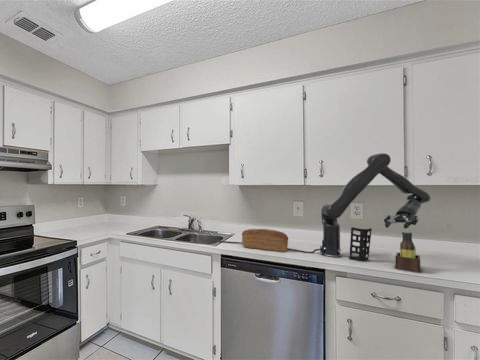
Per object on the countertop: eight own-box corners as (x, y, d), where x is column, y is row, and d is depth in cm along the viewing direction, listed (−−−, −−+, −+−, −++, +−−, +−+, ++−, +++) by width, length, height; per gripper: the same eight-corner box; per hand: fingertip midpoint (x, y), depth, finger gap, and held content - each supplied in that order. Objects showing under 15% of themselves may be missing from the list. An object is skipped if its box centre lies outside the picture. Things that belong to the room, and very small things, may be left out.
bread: (243, 244, 200) (243, 226, 200) (288, 249, 185) (288, 230, 185) (240, 247, 189) (240, 228, 190) (287, 253, 175) (287, 232, 175)
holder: (363, 257, 165) (365, 226, 163) (373, 262, 158) (376, 229, 156) (346, 257, 165) (348, 226, 163) (355, 262, 157) (357, 229, 155)
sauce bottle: (419, 270, 141) (419, 233, 141) (405, 270, 142) (405, 233, 142) (409, 267, 147) (409, 231, 148) (397, 266, 148) (397, 231, 149)
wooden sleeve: (395, 268, 144) (395, 255, 144) (396, 264, 152) (396, 252, 152) (420, 273, 137) (420, 259, 138) (420, 268, 145) (420, 255, 145)
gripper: (390, 206, 161) (378, 220, 155) (420, 206, 148) (408, 221, 142) (394, 217, 162) (383, 231, 156) (425, 217, 149) (413, 233, 143)
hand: (395, 226), depth 149 cm, fingers open, 8 cm apart
